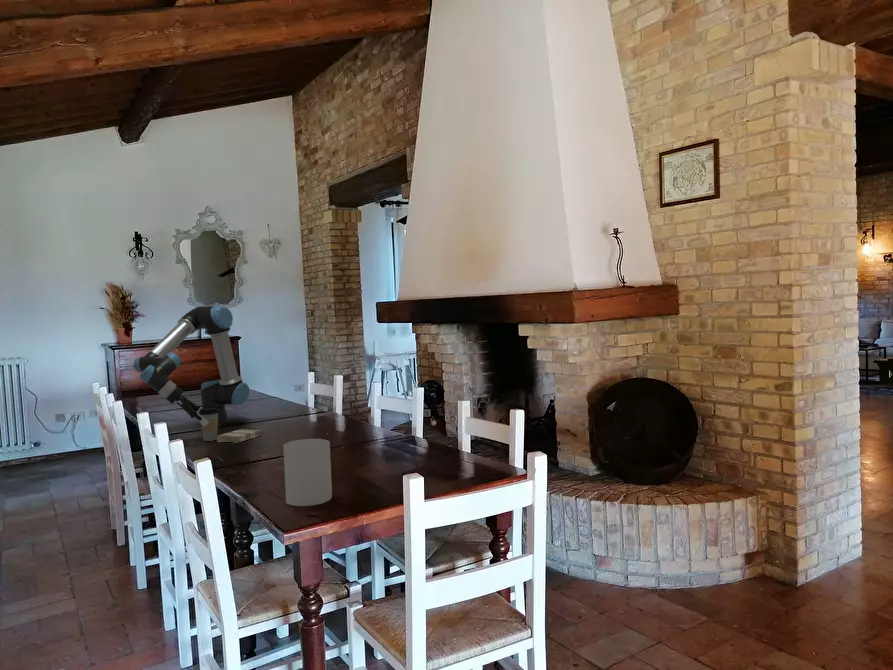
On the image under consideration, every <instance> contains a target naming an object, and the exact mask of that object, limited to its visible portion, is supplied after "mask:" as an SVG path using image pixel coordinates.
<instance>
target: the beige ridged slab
mask: <svg viewBox="0 0 893 670" xmlns="http://www.w3.org/2000/svg"><path fill="white" fill-rule="evenodd" d="M261 435H262V433H261V430H260V429H246V428H245V429H244V428H241V429H237V430H233V431H230V432H226V433H225V432H224V433H222V434H217V440H216V442H217V443H221V442H234V443H233V444H235V443H238V444H240V443H239V442H241V443H243V442H242V441H245V440H248V441H250V440H249V439H251V440H253V439H252V438H254V439H256V438H255V437H258V436H261ZM258 438H259V437H258ZM245 442H246V441H245Z"/></svg>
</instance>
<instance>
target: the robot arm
mask: <svg viewBox="0 0 893 670" xmlns="http://www.w3.org/2000/svg"><path fill="white" fill-rule="evenodd" d="M233 321H234V318H233V313H232V311H231V310H230V309H229V308H228V307H226V306H224V305H218V304H217V305H205V306H203V305H202V306H196V307H195V308H192V309H191V310H189V311H188V312H187V313H185V314H184V315H183V316H182V317H181V318H180V319H179V320H178V321H177V323H176V325H175V326H174V327H173V328H172V329H171V330H170V331H169V332H168V333H167V334H166V335H165V336H164V337H163V338H162V339H161V340H160V341H159V342H158V343H157V344H156V345H155V346H154V347H152V349H150V350H149V352H148V353H146V354H145V355H144V356H140V357H137V358H135V359H134V361H133V369H134V370H135V371H136V372H137V373H140V374H139V378H140V379H141V380H142V381H143V382H144V383H145V384H147V385H148V386H149V387H150V388H152V389H153V390H154V391H156V393H158V395H159V396H162V397H163V398H166V401H168V402H169V403H170V404H174V403H175V402H176V404H177V405H178V406H179V407H180V408H182V410H184V411H185V413H187V414H188V415H189V416H190V418H191V419H195V420H196V421H197V422H198V423H199V425H200V426H201V424H202V425H203V426H206V425H207V424H208V423H209V421H207V420H206V419H205V418H204V417H202V416H201V415H200V414H199V413H198V412H200V409H203V408H212V407H215V408H218V410H219V413H218V426H220V425H219V424H221V425H225V424H224V423H226V424H228V423H227V422H229V423H230V417H229V416H228V412H227V410H226V405H227V406H228V405H231V406H237V405H238V406H241V405H243V404H244V403H246V401H248V398H249V395H250V387H249V384H247V383H246V382H243V378H242V376H239V375H238V374H239V373H238V371H237V366H236V361H235V357H234V353H233V347H232V345H231V344H232V343H231V340H230V336H229V335H230V334H229V332H230V330H231V326H232V325H233ZM203 329H204V330H206V334H207V335H208V336H209V337H210V338H211V342H212V346H213V351H214V354H215V359H216V363H217V364H216V365H217V367H218V371H219V376H220V379H217V380H213V381H212V380H211V381H205V382H202V384H201V385H200V386H201V387H200V397H201V406H200V405H197V404H195V403H194V402H192V401H191V400H190V399H188V398H187V397H186V396H185V395H182V394H184V390H183V389H182V388H180V387H179V386H177V384H175V382H173V381H172V380H170V379H169V378H168V377H169V376H171V374H172V373H173V372H174V371H175V370H176V369H178V367H179V366H180V365H181V363H182V362H181V361H182V360H181V358H180V357H179V355H178V354H177V353H175V352H174V351H175V349H176V348H178V347H179V345H180V344H181V343H182V342H184V340H185V339H187V338H188V336H189V335H193V334H195V332H197V331H199V330H203Z"/></svg>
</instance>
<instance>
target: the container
mask: <svg viewBox="0 0 893 670" xmlns="http://www.w3.org/2000/svg"><path fill="white" fill-rule="evenodd" d="M282 446H283V447H282V448H283V463H284V464H283V465H284V466H283V467H284V482H285V483H284V485H285V486H284V487H285V502H286V504H287V505H290V506H293V507H294V506H295V507H309V506H316V505H321V504H324V503H327V502H328V501H330V500H332V497H333V487H332V486H333V484H332V465H331V463H332V462H331V443H330V440H327V439H323V438H305V439H297V440H291V441H288V442H286V443H284V444H283V445H282Z"/></svg>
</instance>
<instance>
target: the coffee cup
mask: <svg viewBox="0 0 893 670" xmlns="http://www.w3.org/2000/svg"><path fill="white" fill-rule="evenodd" d="M199 409H200V412H198V413H199V414H200V415H201V416H202V417H204V418H205V419H206V420H207V421H209V423H208V424H207V425H206V426H203V425H202V424H201V425H200V430H201V432H202V438H203V440H202V441H203V442H204V441H211V442H215V441H214V440H216V441H217V436H218V429H219V428H218V426H219V425H218V413H219V410H218V408H215V407H212V408H203V409H202V408H199Z"/></svg>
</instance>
